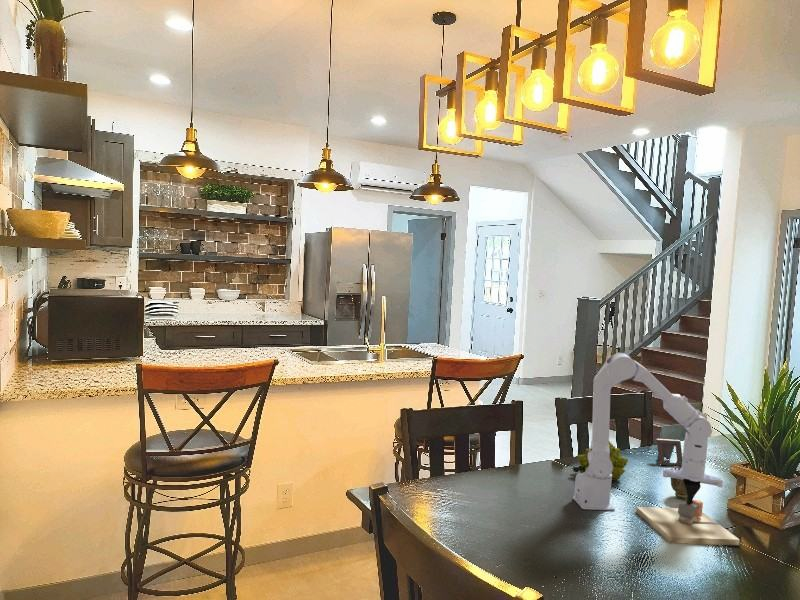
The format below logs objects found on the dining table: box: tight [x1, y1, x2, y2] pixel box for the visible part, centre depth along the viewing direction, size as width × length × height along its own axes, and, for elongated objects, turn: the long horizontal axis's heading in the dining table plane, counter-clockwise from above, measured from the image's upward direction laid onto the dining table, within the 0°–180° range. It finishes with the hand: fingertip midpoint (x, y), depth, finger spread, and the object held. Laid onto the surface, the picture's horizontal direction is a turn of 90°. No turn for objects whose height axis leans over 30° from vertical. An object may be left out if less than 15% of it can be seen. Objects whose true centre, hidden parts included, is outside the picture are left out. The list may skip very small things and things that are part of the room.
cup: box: [670, 467, 687, 500], centre depth 174 cm, size 8×7×8 cm
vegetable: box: [572, 440, 629, 482], centre depth 188 cm, size 15×16×15 cm
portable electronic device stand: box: [653, 438, 683, 468], centre depth 207 cm, size 9×8×8 cm
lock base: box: [636, 506, 740, 546], centre depth 153 cm, size 18×18×4 cm
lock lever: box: [677, 499, 704, 518], centre depth 155 cm, size 10×4×4 cm, turn 129°
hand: (689, 506), depth 158 cm, fingers closed, pressing on lock lever
